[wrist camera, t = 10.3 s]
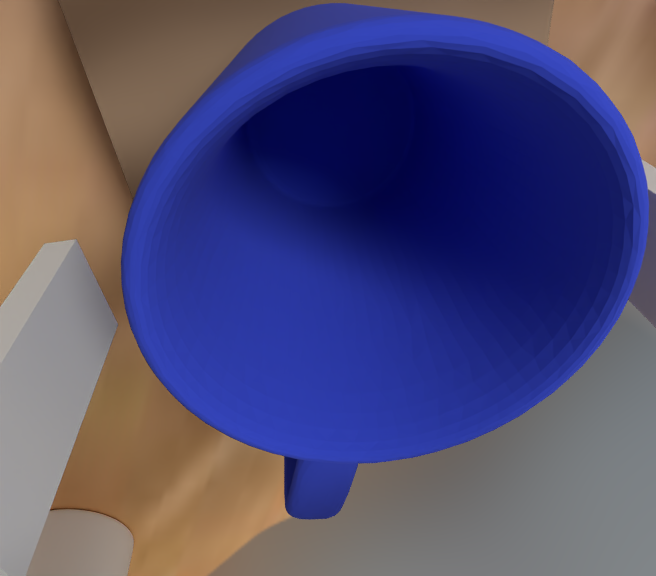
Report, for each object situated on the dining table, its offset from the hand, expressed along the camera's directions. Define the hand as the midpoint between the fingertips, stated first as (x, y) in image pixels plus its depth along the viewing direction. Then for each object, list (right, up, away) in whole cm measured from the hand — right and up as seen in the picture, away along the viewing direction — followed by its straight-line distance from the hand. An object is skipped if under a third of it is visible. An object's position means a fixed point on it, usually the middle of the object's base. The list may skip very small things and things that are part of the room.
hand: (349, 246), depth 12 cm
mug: (-1, +3, +5) cm, 6 cm away
